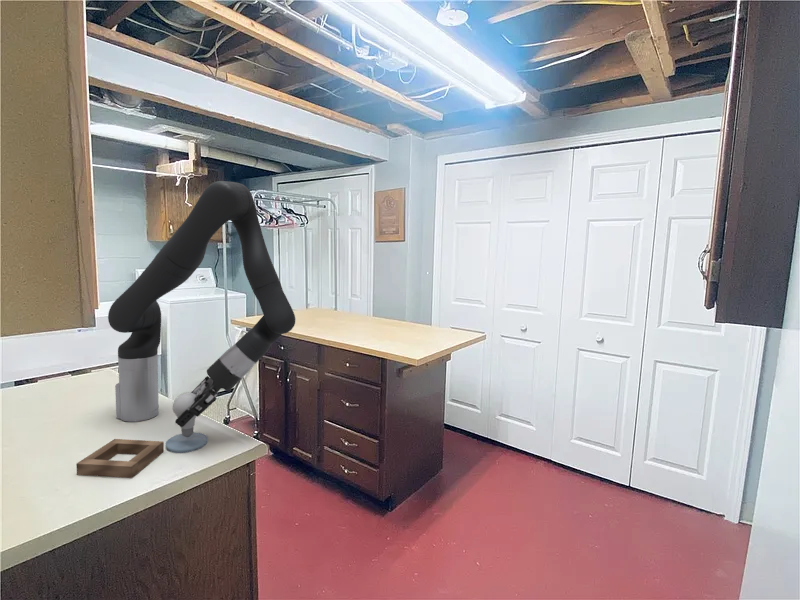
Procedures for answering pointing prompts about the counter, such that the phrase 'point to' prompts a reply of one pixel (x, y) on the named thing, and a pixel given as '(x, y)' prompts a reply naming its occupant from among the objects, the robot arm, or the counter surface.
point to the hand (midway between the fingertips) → (179, 418)
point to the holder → (126, 469)
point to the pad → (186, 443)
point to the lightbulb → (180, 406)
